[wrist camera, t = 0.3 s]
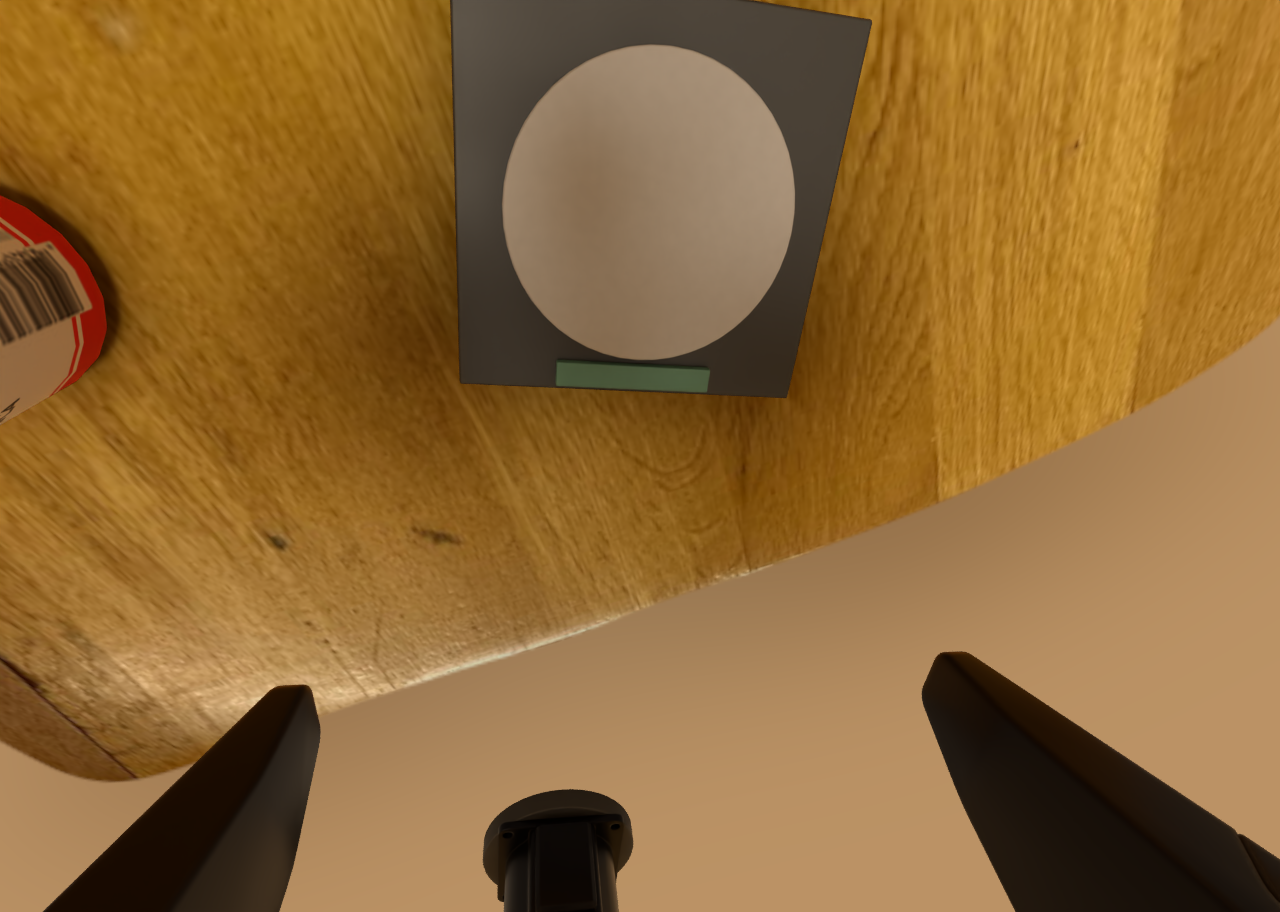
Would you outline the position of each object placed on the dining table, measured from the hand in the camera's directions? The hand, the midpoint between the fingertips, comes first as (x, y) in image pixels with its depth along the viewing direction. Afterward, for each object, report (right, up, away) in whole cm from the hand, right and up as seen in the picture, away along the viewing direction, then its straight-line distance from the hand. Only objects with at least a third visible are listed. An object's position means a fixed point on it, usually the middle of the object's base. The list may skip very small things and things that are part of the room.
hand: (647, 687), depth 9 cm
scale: (0, +11, +12) cm, 16 cm away
